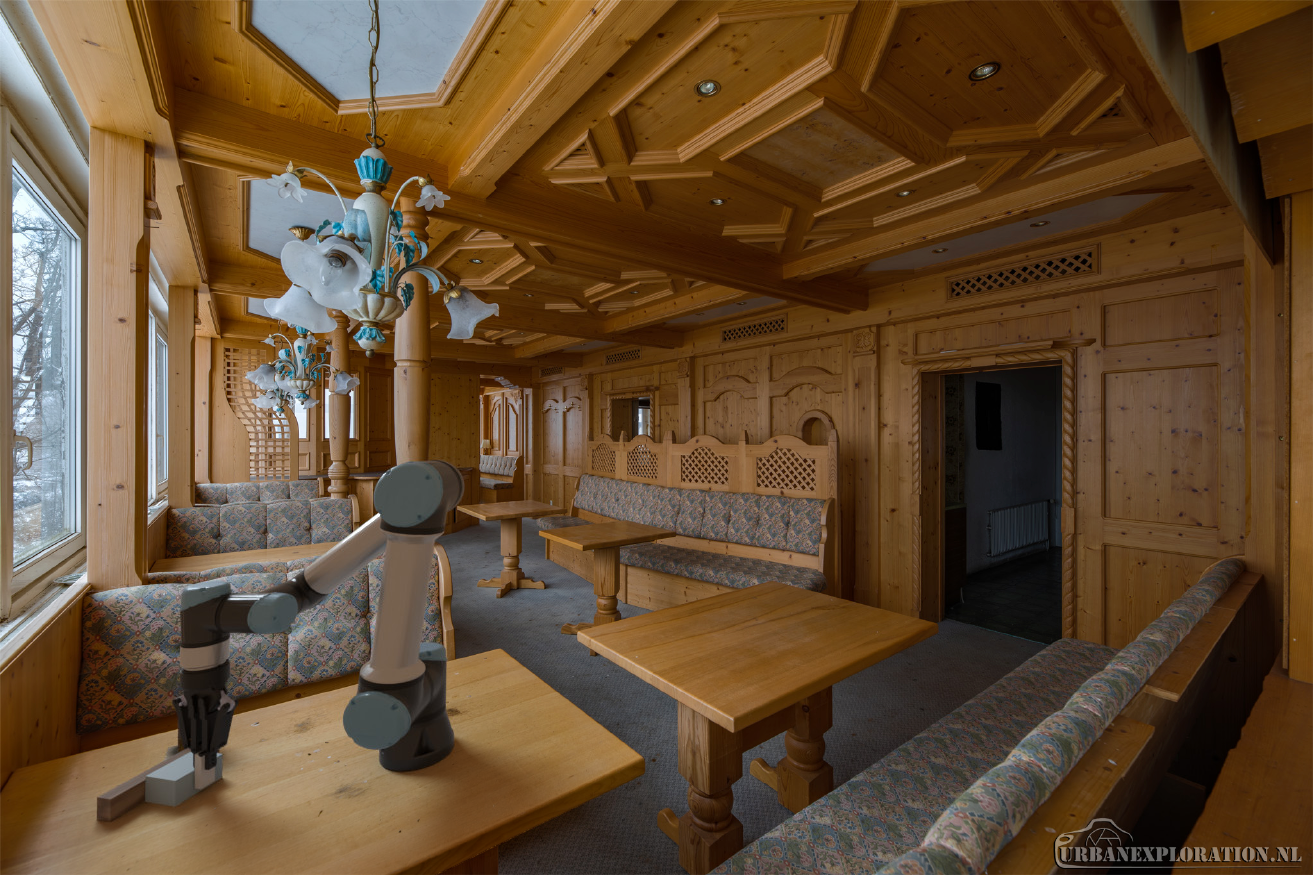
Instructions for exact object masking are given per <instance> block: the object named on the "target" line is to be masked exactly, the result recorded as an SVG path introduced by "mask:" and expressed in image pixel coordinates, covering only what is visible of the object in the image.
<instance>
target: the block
mask: <svg viewBox="0 0 1313 875" xmlns="http://www.w3.org/2000/svg"><path fill="white" fill-rule="evenodd" d="M223 756H224V754H223V753H220V752H219V753H217V764H216V766H215V781H213V782H212V783H210V784H209V785H207V786H206V787H204V788H202V789H195V768H194V767H193V753H192V752H189V753H188V754H186V755H184V756H182V757H180V758H178V759H176V760H175V761H173V762H171V763H169V764H167V765H165V766H163V767H162V768H160V769H158V770H156V771H154V772H152V773H150V774H149V775H147V776H146V777H145V801H146V802H145V801H144V802H145V803H151V804H157V805H162V806H168V807H169V806H170V807H175V808H176V807H177V806H178V805H180V804H182V803H183V802H184V801H186V800H188V799H190V798H191V797H193V796H195V795H196V794H198V793H200V792H202V791H203V790H204V789H206V788H207V787H210V786H211V785H213V784H214V783H216V782H218V781H219V780H221V778H223V764H224V763H223V758H224V757H223Z"/></svg>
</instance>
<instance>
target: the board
mask: <svg viewBox="0 0 1313 875" xmlns="http://www.w3.org/2000/svg"><path fill="white" fill-rule="evenodd" d="M189 752H191V749H189V748H187V749H185V750H183V751H181V752H179V753H177V754H176V755H174V756H172V757H170V758H168V759H166V760H165V761H163V760H162V761H161V762H159V763H157V764H156V765H154V766H152V767H150V768H148V769H147V770H144V771H142V772H141V773H139V774H137V775H135V776H133V777H132V778H130V779H128V780H126V781H124V782H122V783H120V784H119V785H117V786H115V787H113V788H111V789H110V790H108V791H105V792H104V793H102V794H100V795H99V796H97V797H96V820H98V821H104V822H110V823H111V822H112V821H114V820H116V819H117V818H119V817H120V816H123V814H126V813H127V812H129V811H131V810H132V809H134V808H136V807H137V806H139V805H141V804H143V803H145V777H146V776H147V775H149V774H150V773H152V772H154V771H156V770H158V769H160V768H162V767H163V766H165V765H167V764H169V763H171V762H173V761H175V760H176V759H178V758H180V757H182V756H184V755H186V754H188V753H189ZM217 753H220V749H218V750H217Z"/></svg>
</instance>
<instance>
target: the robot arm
mask: <svg viewBox="0 0 1313 875" xmlns="http://www.w3.org/2000/svg"><path fill="white" fill-rule="evenodd" d="M464 492H465V481H464V477H463V475H462V474H461V472H460V470H459V469H458V468H457V467H456V466H454V465H453V464H452V463H450V462H447V461H446V460H442V459H430V460H422V461H421V460H420V461H419V460H418V461H415V460H414V461H406V462H404V463H400V464H398V465H395V466H393V467H391V468H390V469H388V470H387V471H386V472H384V473H383V474H382V475H381V476H380V478H379V480H378V481H377V483H376V484H375V487H374V492H373V504H374V505H373V506H374V508H375V511H376V512H378V513H377V514H375V515H373V516H372V517H371V518H369V520H367V521H366V522H364V523H363V524H362V525H360V526H359V527H358V528H357V529H355V530H354V531H353V532H351V533H350V534H348V535H347V536H346V537H344V538H343V539H342V540H340V541H339V542H338V543H337V544H335V545H334V546H333V547H331V548H330V549H329V550H327V551H326V552H325V553H324V554H323V555H321V556H319V557H318V558H316V560H314V561H313V562H312V563H310V564H309V565H307V566H306V568H304V569H303V570H300V571H299V573H297V574H296V575H295V576H293V577H292V578H290V579H288V580H287V581H284V582H281V583H278V584H277V585H276V584H275V585H274V586H272V587H268V588H267V589H263V590H261V591H258V592H253V593H252V592H250V593H249V592H246V593H238V592H232V591H233V589H232V586H231V583H230V582H229V581H225V580H209V581H202V582H197V583H193V584H191V585H188V586H187V587H185V588H184V589H182V592H181V596H180V597H181V599H180V608H179V616H180V617H179V618H180V645H179V667H181V669H180V671H179V687H180V689H181V690H183V694H181V695H180V696H178V697H176V698H173V699H172V701H171V703H172V706H173V708H174V710H175V711H176V717H177V724H178V723H179V728H180V733H181V739H182V744H183V748H184V749H187V748H189V749H191V752H192V753H193V767H194V768H195V789H202V788H204V787H206V786H207V785H209V784H210V783H212V782H213V781H215V766H216V764H217V750H218V749H219V750H220V749H222V748H223V747H225V746H227V745H228V741H229V736H230V732H231V728H232V722H233V717H234V713H235V710H236V708H237V706H238V705H239V703H240V702H239V699H238V698H234V699H231V697H229V696H228V689H227V686H226V685H227V684H226V683H227V682H228V680H229V679H230V677H231V660H230V659H229V658H230V657H231V634H241V635H242V634H243V635H245V634H247V635H248V634H249V635H252V634H254V635H257V634H258V635H269V634H270V635H271V634H279V633H283V632H285V631H287V630H288V629H289V628H290V627H291V625H292V624H294V623H295V621H296V619H297V618H296V617H297V616H298V615H300V614H302V613H304V612H306V611H308V610H311V609H314V608H316V607H317V606H319V605H320V604H321V603H323V602H324V601H325V600H326V599H327V597H328V596H329V594H330V593H332V592H334V591H335V590H336V589H337V588H338V587H340V586H342V584H344V583H345V582H347V581H349V579H350V578H352V577H353V576H354V575H356V574H357V573H358V572H360V571H361V570H362V569H363V568H365V567H366V566H368V565H369V564H370V563H372V562H373V561H374V560H376V559H377V558H379V556H381V555H382V554H383V553H384V559H383V566H382V567H383V568H382V574H381V582H380V590H379V597H378V604H377V610H376V618H375V626H374V631H373V637H372V645H371V653H370V659H369V660H368V661H367V662H366V663H364V664H363V665H362V666H361V667H360V669H359V670H360V671H359V676H358V684H357V691H356V695H354V696H353V697H352V698H350V700H349V701H348V704H347V705H346V706H345V708H344V711H343V714H342V724H343V725H342V726H343V728H344V731H345V733H346V735H347V737H348V738H350V739H351V740H353V743H354V744H356V745H357V746H358V747H361V748H363V749H367V750H372V751H378V761H379V764H380V765H381V766H382V767H383V768H384V769H387V770H390V771H395V772H397V771H398V772H406V771H414V770H420V769H423V768H427V767H429V766H431V765H434V764H436V763H438V762H440V761H441V760H443V759H445V758H446V757H447V756H448V755H450V753H451V752H452V750H453V749H454V747H455V746H454V745H455V733H454V729H453V727H452V724H451V721H450V719H449V716H448V712H447V669H448V668H447V664H448V663H447V662H448V658H447V649H446V647H445V646H444V645H443V644H441V643H437V642H431V641H430V642H429V641H427V642H424V641H423V642H422V636H423V628H424V622H425V614H426V607H427V600H428V592H429V585H430V579H431V570H432V565H433V563H432V562H433V557H434V549H435V541H436V540H437V539H439V538H440V537H441V536H442V535H443V534H444V533H445V529H446V523H447V516H448V515H447V514H448V512H450V511H452V510H453V509H454V508H455V507H457V505H459V504H460V502H461V501H462V498H463V496H464ZM189 739H191V740H189ZM215 782H216V781H215ZM212 784H213V783H212ZM209 786H210V785H209ZM207 787H208V786H207ZM207 787H206V788H207ZM204 789H205V788H204Z"/></svg>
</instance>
